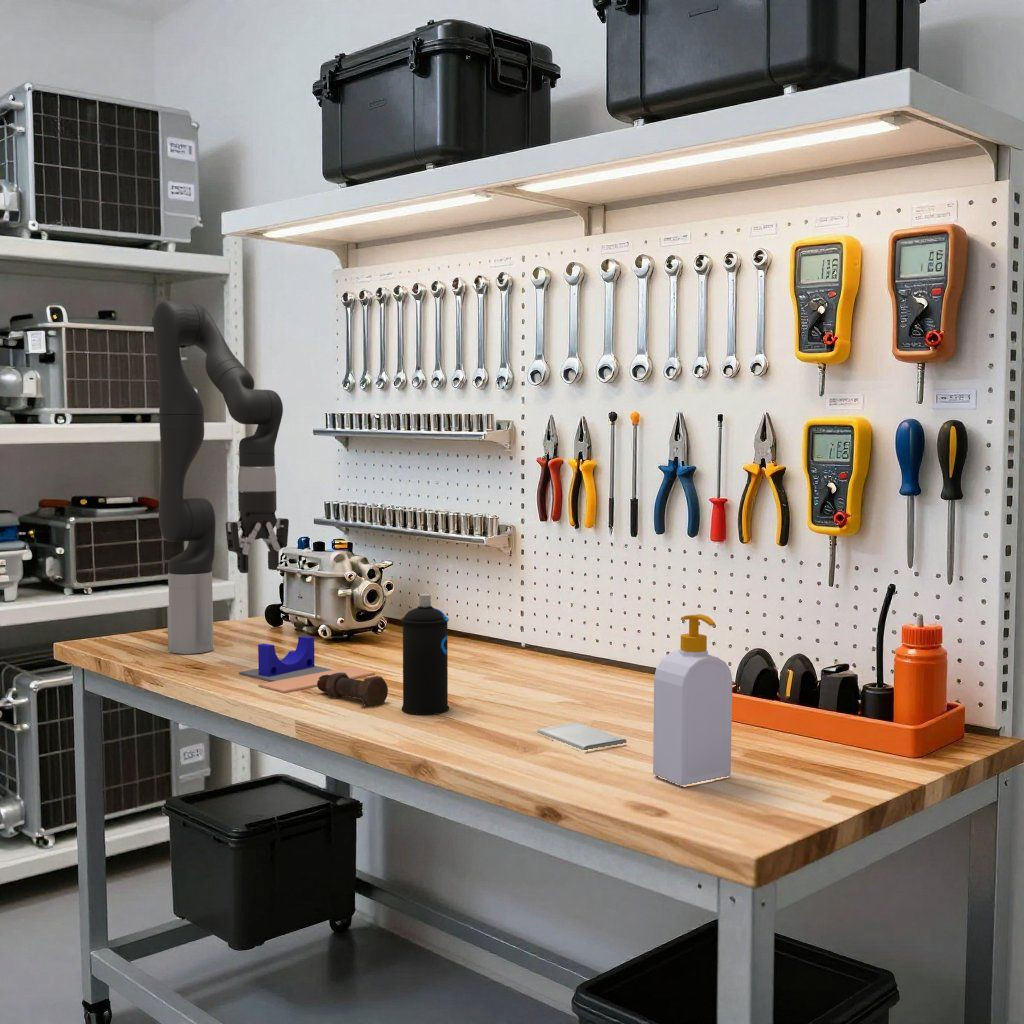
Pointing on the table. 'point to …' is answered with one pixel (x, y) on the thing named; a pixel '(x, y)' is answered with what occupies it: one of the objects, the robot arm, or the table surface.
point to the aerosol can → (425, 659)
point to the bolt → (355, 688)
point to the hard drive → (581, 736)
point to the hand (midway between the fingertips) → (258, 570)
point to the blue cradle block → (286, 658)
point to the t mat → (302, 677)
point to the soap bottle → (692, 711)
